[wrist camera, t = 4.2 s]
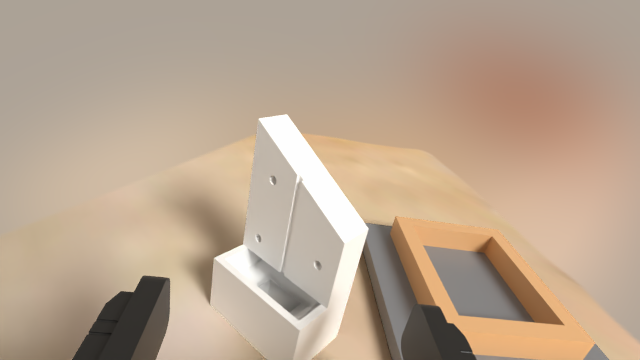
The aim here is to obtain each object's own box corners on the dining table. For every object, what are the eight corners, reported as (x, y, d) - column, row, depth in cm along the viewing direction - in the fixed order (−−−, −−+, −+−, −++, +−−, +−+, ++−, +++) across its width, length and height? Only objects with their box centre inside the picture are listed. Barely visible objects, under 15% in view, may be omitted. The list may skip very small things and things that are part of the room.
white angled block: (219, 207, 23) (287, 114, 18) (307, 351, 21) (416, 295, 16) (165, 226, 21) (224, 123, 15) (259, 393, 18) (370, 343, 13)
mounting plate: (397, 381, 18) (413, 344, 16) (358, 233, 28) (366, 205, 27) (618, 395, 19) (646, 363, 18) (502, 251, 30) (515, 225, 29)
